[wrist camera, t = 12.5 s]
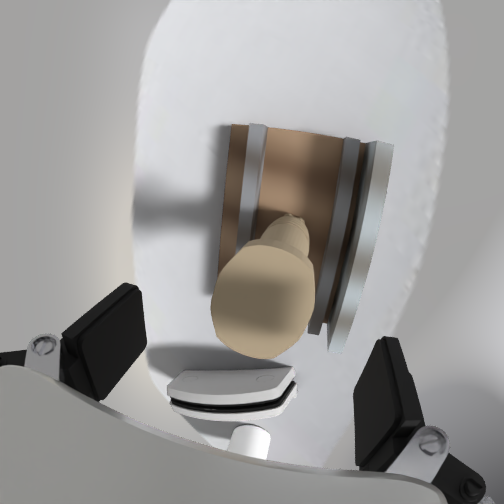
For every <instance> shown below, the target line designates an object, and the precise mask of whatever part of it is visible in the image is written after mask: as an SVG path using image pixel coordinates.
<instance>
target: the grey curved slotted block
mask: <svg viewBox="0 0 504 504" xmlns="http://www.w3.org/2000/svg"><path fill="white" fill-rule="evenodd" d="M295 375H296V373H295V370H294V368H293V367H284V368H270V369H251V370H184V371H183V372H181V373H180V374H179V375H178V376H177V377H176V378H175V379H174V380H173V381H172V382H170V383H169V384H168V385H167V395H168V396H170V398H171V401H170V405H171V407H172V409H173V411H174V412H177V413H179V414H182V415H185V416H189V417H193V418H198V419H204V420H212V421H247V420H257V419H264V418H269V417H275V416H278V415H280V414H281V413H282V412H283V411H284V409H285V408H286V406H287V405H288V403H289V402H290V400H291V398H296V396H297V393H298V390H297V383H295V382H294V381H292V380H293V378H294V376H295Z"/></svg>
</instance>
